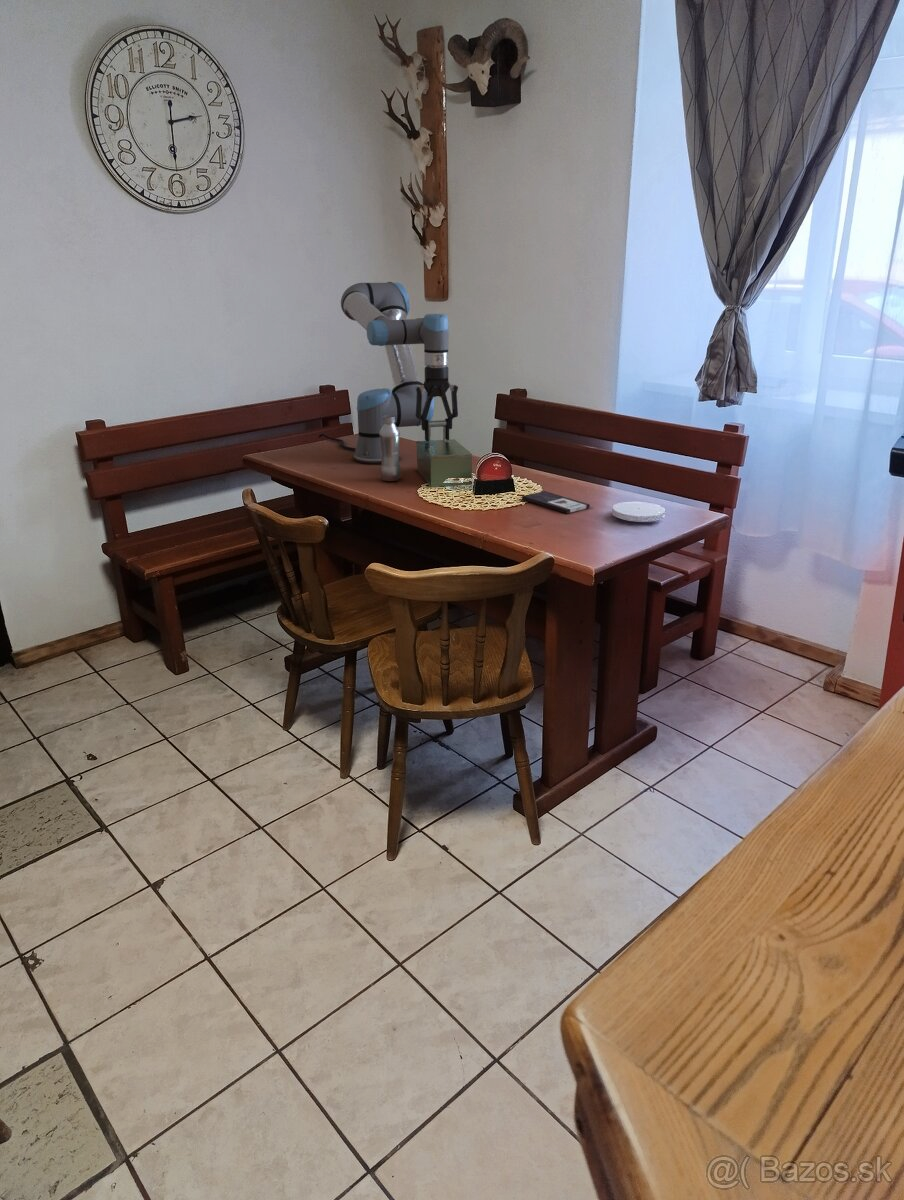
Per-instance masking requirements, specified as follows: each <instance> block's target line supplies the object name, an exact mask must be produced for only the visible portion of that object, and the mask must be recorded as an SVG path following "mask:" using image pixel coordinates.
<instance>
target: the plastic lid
mask: <svg viewBox="0 0 904 1200" xmlns="http://www.w3.org/2000/svg"><path fill="white" fill-rule="evenodd" d="M666 512H667V510H666V508H665V507H663V506H662V505H659V504H657V503H652V502H646V501H622V502H618V503H615V504H613V505H612V508H611V514H612V515H613V517H615V518H618V519H621V520H624V521H629V522H635V523H636V522H637V523H651V522H658V521H661V520H663V519H665V517H666Z"/></svg>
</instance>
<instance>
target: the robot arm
mask: <svg viewBox="0 0 904 1200" xmlns="http://www.w3.org/2000/svg"><path fill="white" fill-rule="evenodd" d="M340 307H341V311H342V312H343V314H344V315H345V316H346V317H347V318H348V319H349V320H351V321H355V322H357V323H358V324H359V325H360V326H361V327H362V328H363V329H365V331H366V337H367V340H368V344H370V346H379V347H383V346H384V347H385V348H384V350H385V353H386V357H387V361H388V365H389V370H390V373H391V378H392V382H393V387H392V389H390V388H383V387H382V388H375V389H374V388H373V389H369V390H365V391H363V392H360V393H359V394H358V396H357V398H356V399H357V400H356V401H357V402H356V411H357V429H358V430H357V431H358V437H357V438H358V439H357V442H356V445H355V447H352V446H351V447H350V446H346V445H344V444H345V441H344V440H343V439H340V438H336V437H332V436H328V435H327V434H325V433H320V434H319V435H318V438H322V437H324V438H326V439H327V440H330V441H336V442H340V448H343V449H345V450H350V451H354V454H353V458H354V461H355V462H357V463H360V464H368V465H369V464H370V465H381V464H382V450H381V442H380V436H379V433H380V430H381V428H382V427H383V425H384V423H383V416H387V415H392V416H395V425H396V427H397V428H406V427H407V428H408V427H420V426H421V430H422V431H423V432H424V441H429V421H433V420H432V419H433V416H434V413H435V398H436V397H439V398H440V399H441V401H442V405H443V408H444V411H445V415H446V417H447V418H444V420H446V422H447V426H446V440H450V430H452V429H453V419H455V418H458V416H459V410H458V407H459V406H458V394H457V393H458V390H459V387H458V385H456V384H451V383H450V381H449V367H448V365H449V329H450V326H449V317H448V315H447V314H445V313H426V314H425V315H424V316H423V317H417V318H410V319H409V318H408V319H407V317H408V315H409V312H410V307H411V306H410V298H409V293H408V291H407V289H406V287H405V286H404V285H403V284H402V283H400V282H392V281H387V282H357V283H355V284H352V285H350V286H349V287H347V288H346V289H345V290H344V292H343V294H342V296H341V299H340ZM411 345H423V349H424V350H423V351H424V352H423V355H424V356H423V358H424V360H423V361H424V382H423V381H421V380H419V377H418V372H417V370H416V365H415V362H414V361H415V360H414V358H413V353H412V349H411ZM448 390H449V391H450V395H451V397H450V399H451V408H450V404H449V401H448V397H447V394H446V393H447V392H448ZM451 410H452V411H451Z"/></svg>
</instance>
